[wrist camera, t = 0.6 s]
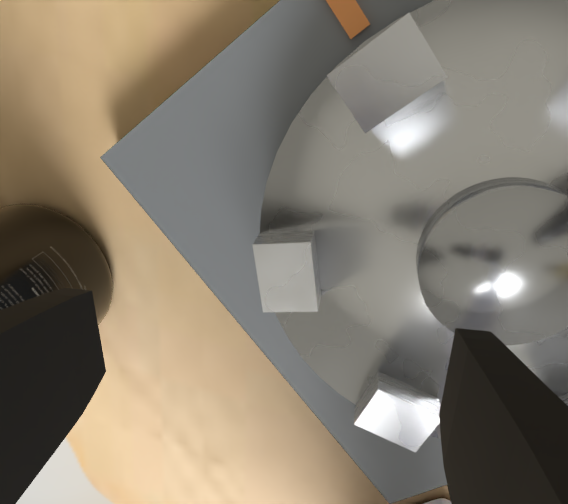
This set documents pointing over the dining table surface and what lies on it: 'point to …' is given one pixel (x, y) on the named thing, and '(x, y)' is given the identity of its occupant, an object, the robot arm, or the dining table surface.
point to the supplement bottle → (49, 257)
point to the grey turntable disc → (426, 208)
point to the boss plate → (260, 192)
